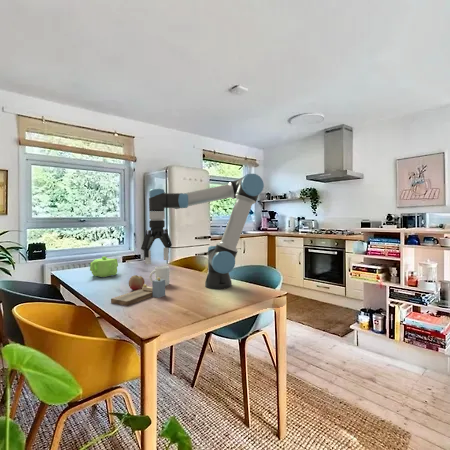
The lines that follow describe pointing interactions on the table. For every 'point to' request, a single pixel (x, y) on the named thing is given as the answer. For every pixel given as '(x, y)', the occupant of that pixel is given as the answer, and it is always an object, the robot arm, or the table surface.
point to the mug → (161, 274)
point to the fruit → (136, 282)
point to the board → (132, 297)
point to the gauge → (156, 288)
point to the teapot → (104, 267)
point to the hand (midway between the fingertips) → (157, 262)
